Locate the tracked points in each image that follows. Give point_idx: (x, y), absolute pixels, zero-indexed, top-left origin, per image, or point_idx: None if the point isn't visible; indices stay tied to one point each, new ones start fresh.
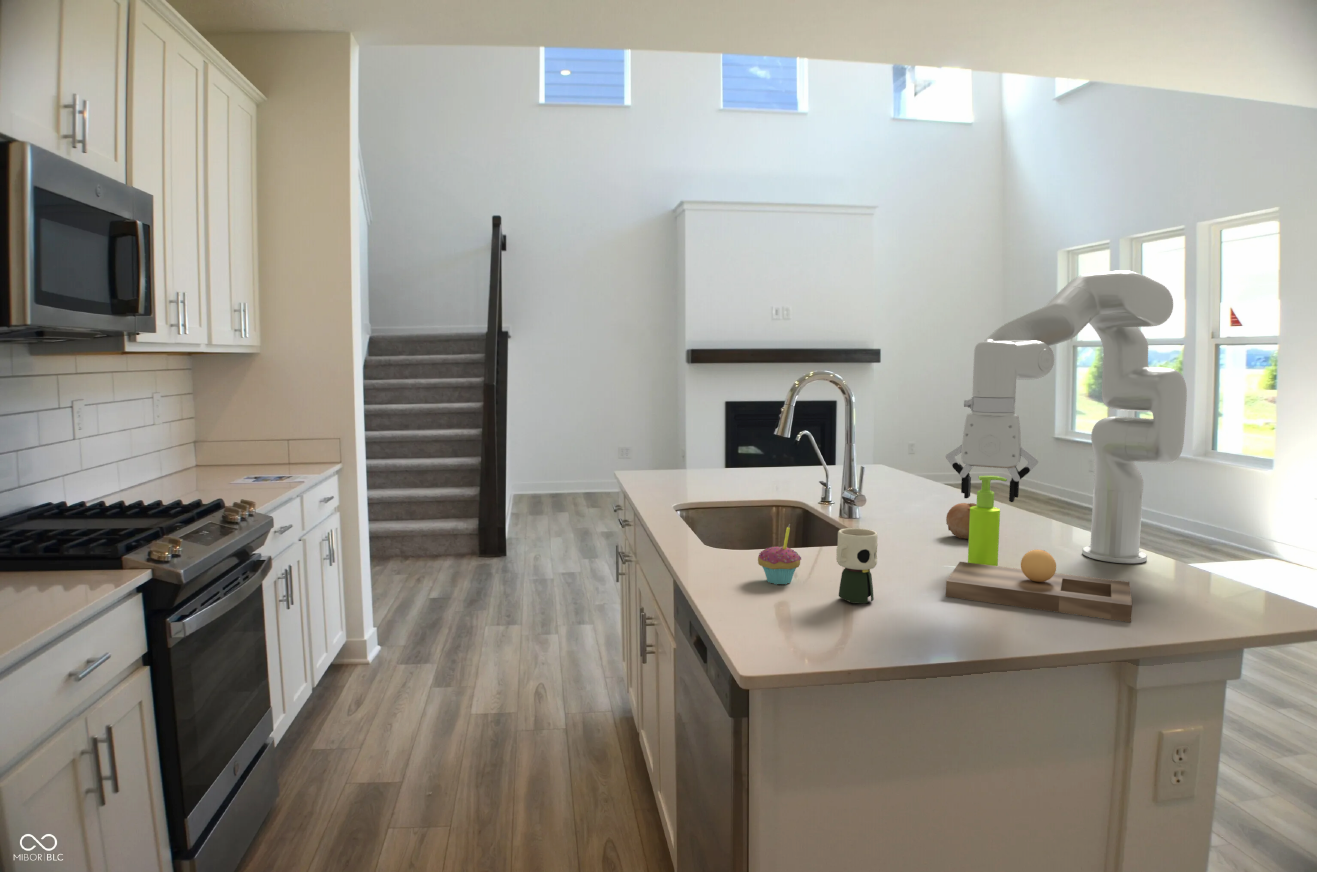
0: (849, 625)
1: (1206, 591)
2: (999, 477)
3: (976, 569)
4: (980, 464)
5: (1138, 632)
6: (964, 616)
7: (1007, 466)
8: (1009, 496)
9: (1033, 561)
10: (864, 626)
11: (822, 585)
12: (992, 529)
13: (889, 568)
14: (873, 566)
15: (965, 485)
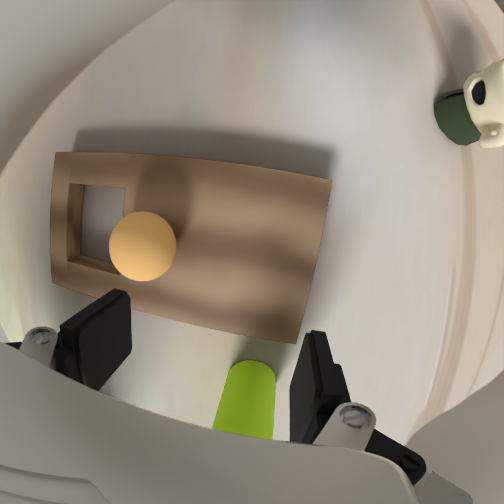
0: (431, 22)
1: (22, 322)
2: None
3: (266, 294)
4: (221, 436)
5: (73, 115)
6: (293, 75)
7: (12, 349)
8: (118, 302)
9: (145, 219)
10: (415, 19)
11: (496, 195)
12: (225, 416)
13: (407, 334)
14: (465, 83)
15: (329, 365)
